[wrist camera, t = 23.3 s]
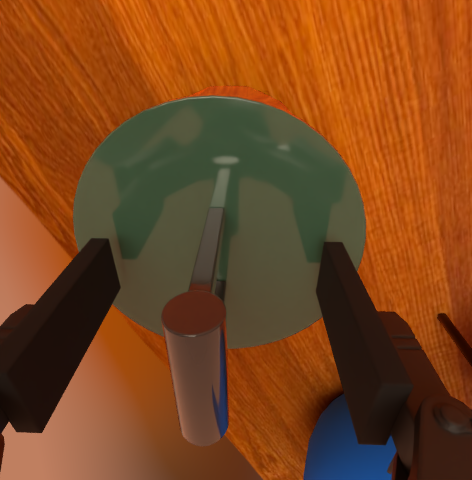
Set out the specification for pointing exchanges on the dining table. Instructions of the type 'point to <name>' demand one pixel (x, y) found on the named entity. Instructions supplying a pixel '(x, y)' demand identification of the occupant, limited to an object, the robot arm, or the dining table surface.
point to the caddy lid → (217, 233)
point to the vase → (344, 449)
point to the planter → (456, 337)
